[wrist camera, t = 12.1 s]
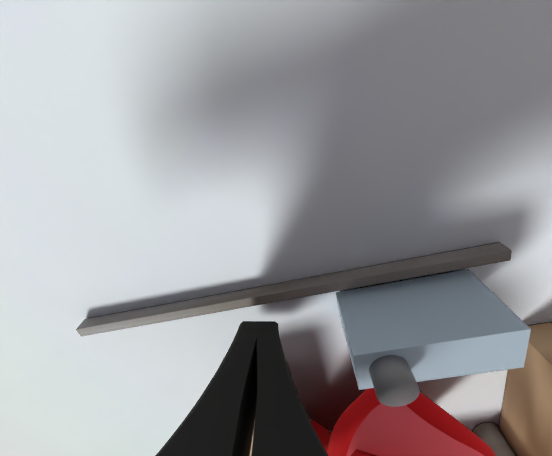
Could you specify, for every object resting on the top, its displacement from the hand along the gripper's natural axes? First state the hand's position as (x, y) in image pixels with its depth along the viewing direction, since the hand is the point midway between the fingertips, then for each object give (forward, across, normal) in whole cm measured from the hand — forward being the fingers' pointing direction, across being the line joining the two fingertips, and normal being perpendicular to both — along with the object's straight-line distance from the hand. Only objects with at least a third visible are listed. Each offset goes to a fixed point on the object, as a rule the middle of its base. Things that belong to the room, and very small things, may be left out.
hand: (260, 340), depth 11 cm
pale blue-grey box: (+1, -6, -1) cm, 6 cm away
